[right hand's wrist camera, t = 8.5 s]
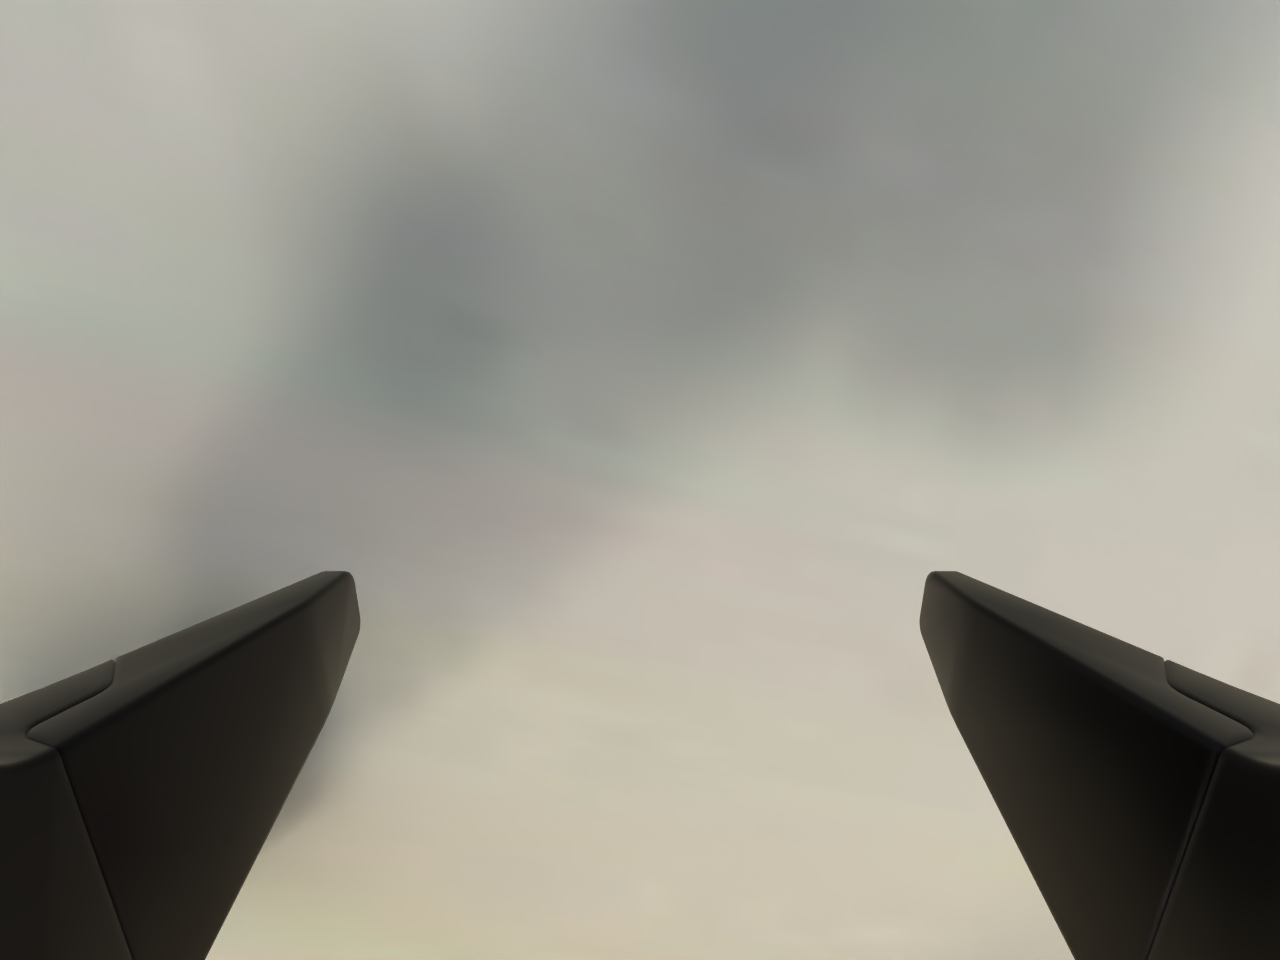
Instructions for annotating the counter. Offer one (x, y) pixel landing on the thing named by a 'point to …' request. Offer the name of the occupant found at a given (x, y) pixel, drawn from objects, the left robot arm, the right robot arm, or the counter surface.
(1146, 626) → the counter surface
